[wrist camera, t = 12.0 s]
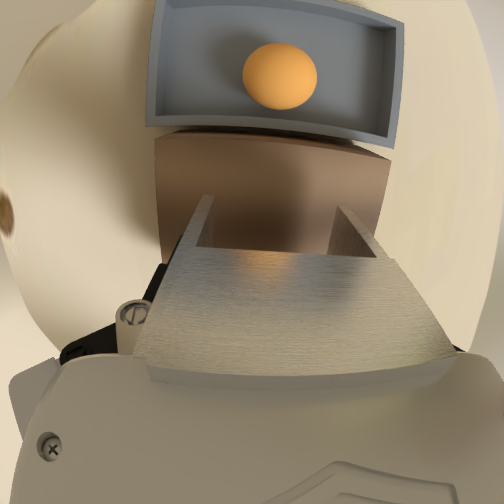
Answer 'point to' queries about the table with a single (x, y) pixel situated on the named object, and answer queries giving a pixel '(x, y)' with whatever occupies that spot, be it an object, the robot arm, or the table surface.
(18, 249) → the table surface
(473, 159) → the table surface
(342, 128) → the tray
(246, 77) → the ball
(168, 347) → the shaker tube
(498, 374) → the robot arm
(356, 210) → the stand
